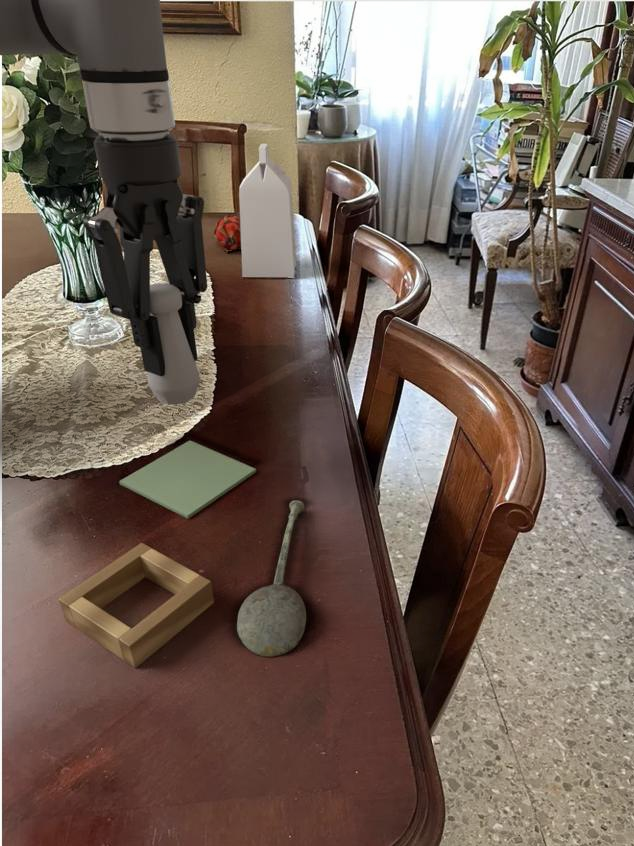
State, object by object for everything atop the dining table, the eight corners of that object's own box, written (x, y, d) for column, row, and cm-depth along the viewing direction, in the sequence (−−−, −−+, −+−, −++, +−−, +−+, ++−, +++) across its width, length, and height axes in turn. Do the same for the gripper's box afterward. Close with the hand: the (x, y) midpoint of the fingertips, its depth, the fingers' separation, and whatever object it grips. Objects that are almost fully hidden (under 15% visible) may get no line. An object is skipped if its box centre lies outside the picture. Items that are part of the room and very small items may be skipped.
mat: (119, 484, 83) (118, 481, 82) (190, 443, 91) (189, 440, 90) (188, 519, 77) (187, 515, 77) (256, 472, 85) (256, 468, 85)
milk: (247, 262, 157) (238, 140, 142) (296, 263, 158) (292, 141, 143) (242, 278, 147) (231, 150, 132) (294, 279, 148) (289, 151, 133)
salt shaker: (212, 392, 78) (198, 283, 71) (181, 413, 74) (164, 300, 67) (172, 381, 80) (155, 275, 73) (140, 401, 76) (119, 290, 69)
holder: (65, 621, 64) (58, 598, 62) (146, 563, 71) (141, 542, 69) (135, 668, 59) (129, 646, 58) (214, 602, 66) (211, 581, 65)
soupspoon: (230, 659, 61) (300, 665, 61) (228, 635, 59) (301, 642, 59) (270, 508, 79) (325, 513, 79) (270, 486, 77) (326, 491, 77)
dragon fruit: (239, 248, 172) (235, 269, 163) (210, 228, 168) (204, 249, 159) (256, 222, 167) (253, 242, 159) (227, 201, 164) (222, 221, 155)
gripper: (82, 149, 54) (133, 403, 67) (228, 128, 66) (247, 347, 79) (27, 140, 57) (86, 383, 71) (175, 121, 69) (202, 333, 82)
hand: (171, 364), depth 75 cm, fingers closed on salt shaker, 4 cm apart
